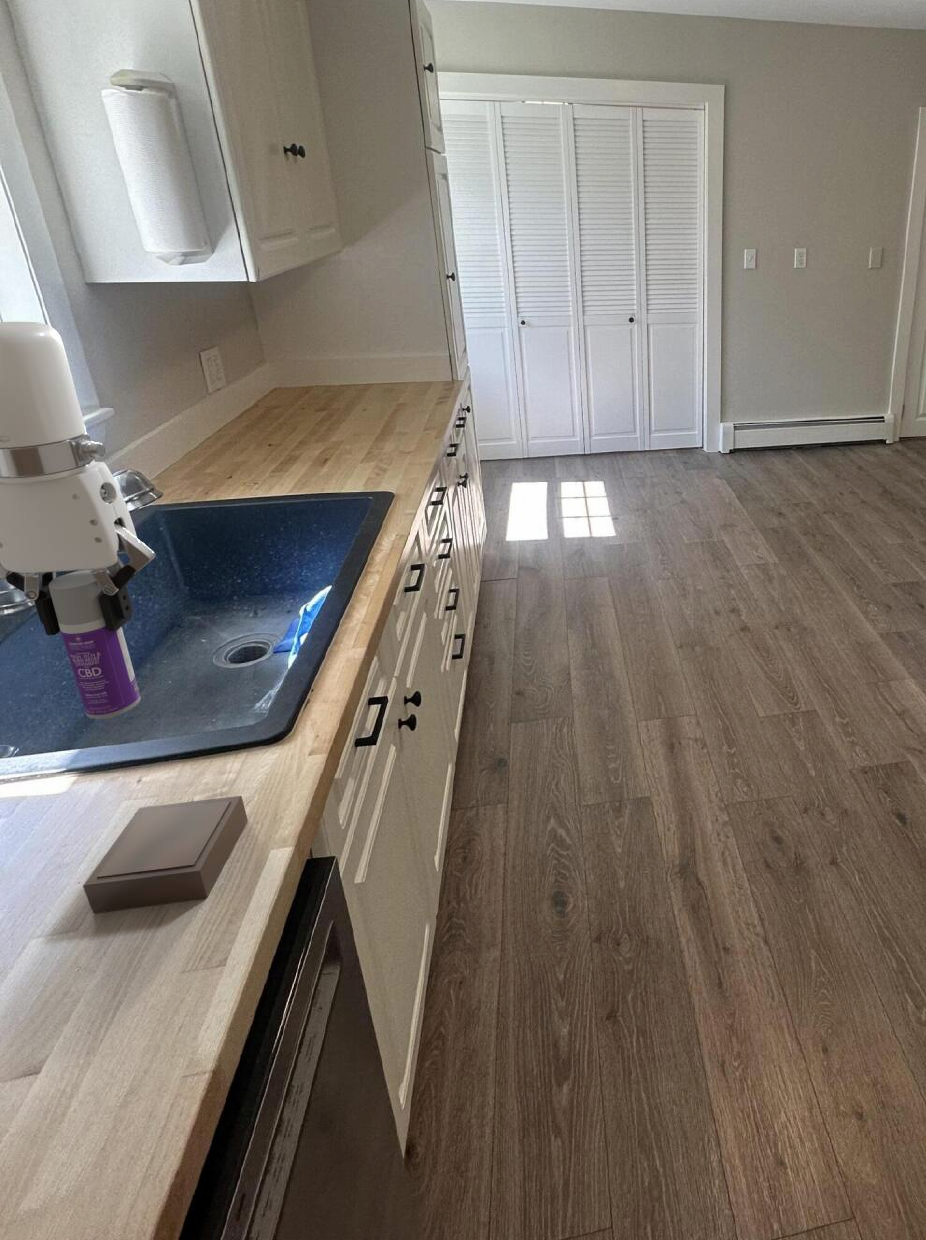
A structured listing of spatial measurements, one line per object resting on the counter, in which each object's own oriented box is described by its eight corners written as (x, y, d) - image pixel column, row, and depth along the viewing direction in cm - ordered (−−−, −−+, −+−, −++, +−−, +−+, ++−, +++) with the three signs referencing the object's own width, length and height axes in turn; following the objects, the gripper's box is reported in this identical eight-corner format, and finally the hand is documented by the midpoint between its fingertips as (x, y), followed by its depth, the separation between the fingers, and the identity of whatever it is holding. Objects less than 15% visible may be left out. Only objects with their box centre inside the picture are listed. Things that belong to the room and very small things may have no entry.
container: (86, 725, 75) (46, 594, 70) (85, 703, 79) (46, 576, 74) (142, 707, 78) (107, 580, 73) (139, 687, 82) (105, 564, 77)
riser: (92, 913, 70) (81, 885, 69) (147, 832, 79) (139, 806, 78) (207, 898, 72) (198, 870, 70) (248, 820, 81) (241, 794, 80)
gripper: (160, 442, 74) (198, 603, 80) (-33, 448, 71) (21, 614, 77) (119, 465, 67) (164, 639, 73) (-98, 472, 64) (-33, 653, 70)
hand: (90, 624), depth 75 cm, fingers closed on container, 4 cm apart
